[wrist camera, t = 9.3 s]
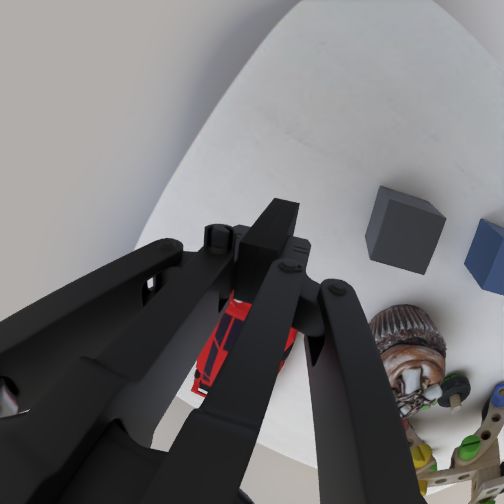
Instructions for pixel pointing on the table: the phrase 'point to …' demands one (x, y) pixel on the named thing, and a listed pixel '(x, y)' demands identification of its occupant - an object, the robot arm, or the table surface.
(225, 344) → the toy car
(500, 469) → the toy construction set
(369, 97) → the table surface
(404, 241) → the charcoal block
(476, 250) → the slate-blue block
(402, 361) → the cupcake
